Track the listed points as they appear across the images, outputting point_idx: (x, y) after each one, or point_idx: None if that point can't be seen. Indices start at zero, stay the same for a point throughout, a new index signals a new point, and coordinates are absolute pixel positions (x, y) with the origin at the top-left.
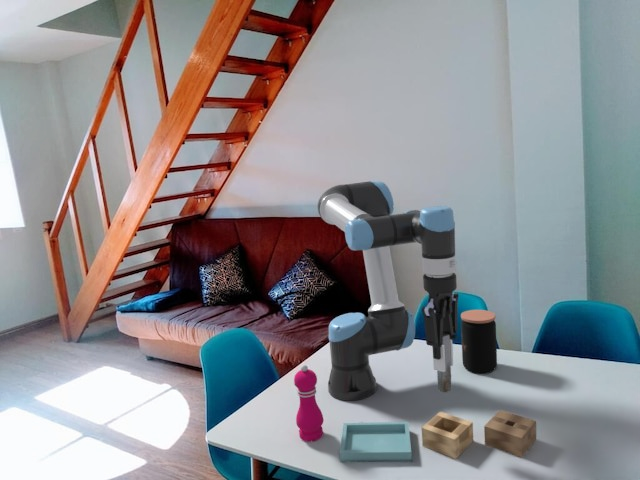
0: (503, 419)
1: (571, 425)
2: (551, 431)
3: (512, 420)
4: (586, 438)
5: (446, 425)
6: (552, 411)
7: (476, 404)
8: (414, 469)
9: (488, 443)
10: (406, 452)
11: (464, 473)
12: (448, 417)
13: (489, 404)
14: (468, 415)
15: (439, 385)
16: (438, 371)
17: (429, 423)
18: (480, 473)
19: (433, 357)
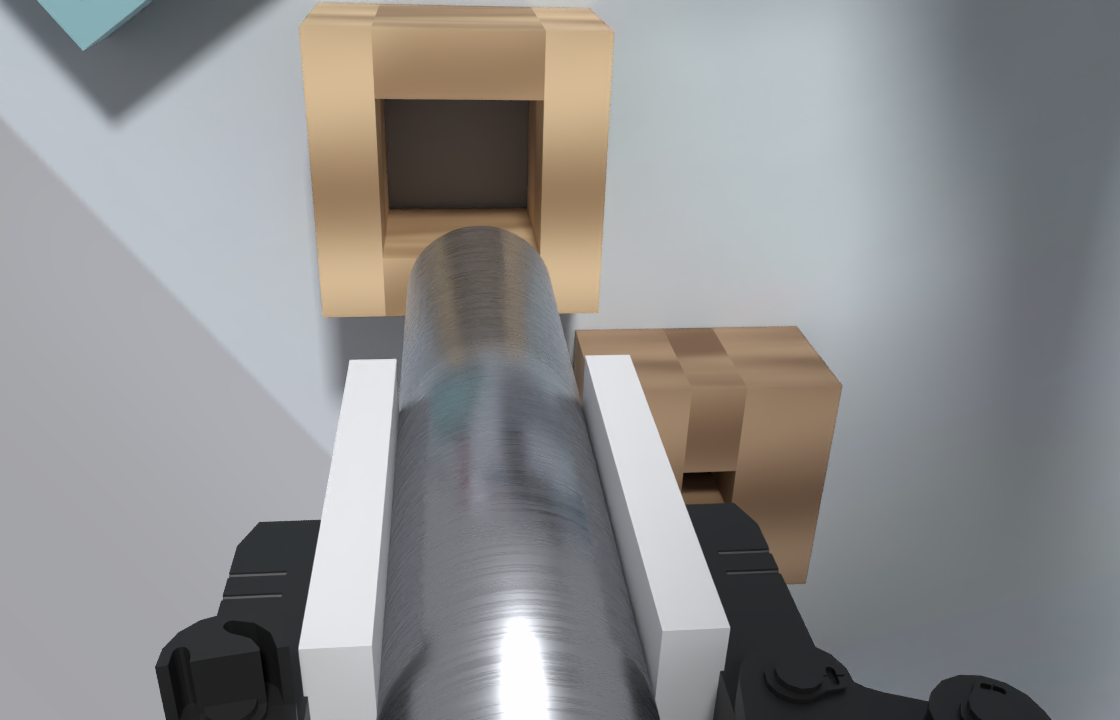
0: (731, 449)
1: (971, 583)
2: (876, 536)
3: (745, 492)
4: (878, 658)
5: (537, 113)
6: (1086, 476)
7: (1032, 72)
8: (53, 99)
9: (577, 358)
10: (54, 19)
11: (248, 359)
12: (564, 139)
13: (1060, 151)
14: (859, 93)
15: (407, 300)
16: (406, 377)
17: (396, 51)
18: (308, 421)
19: (246, 539)
